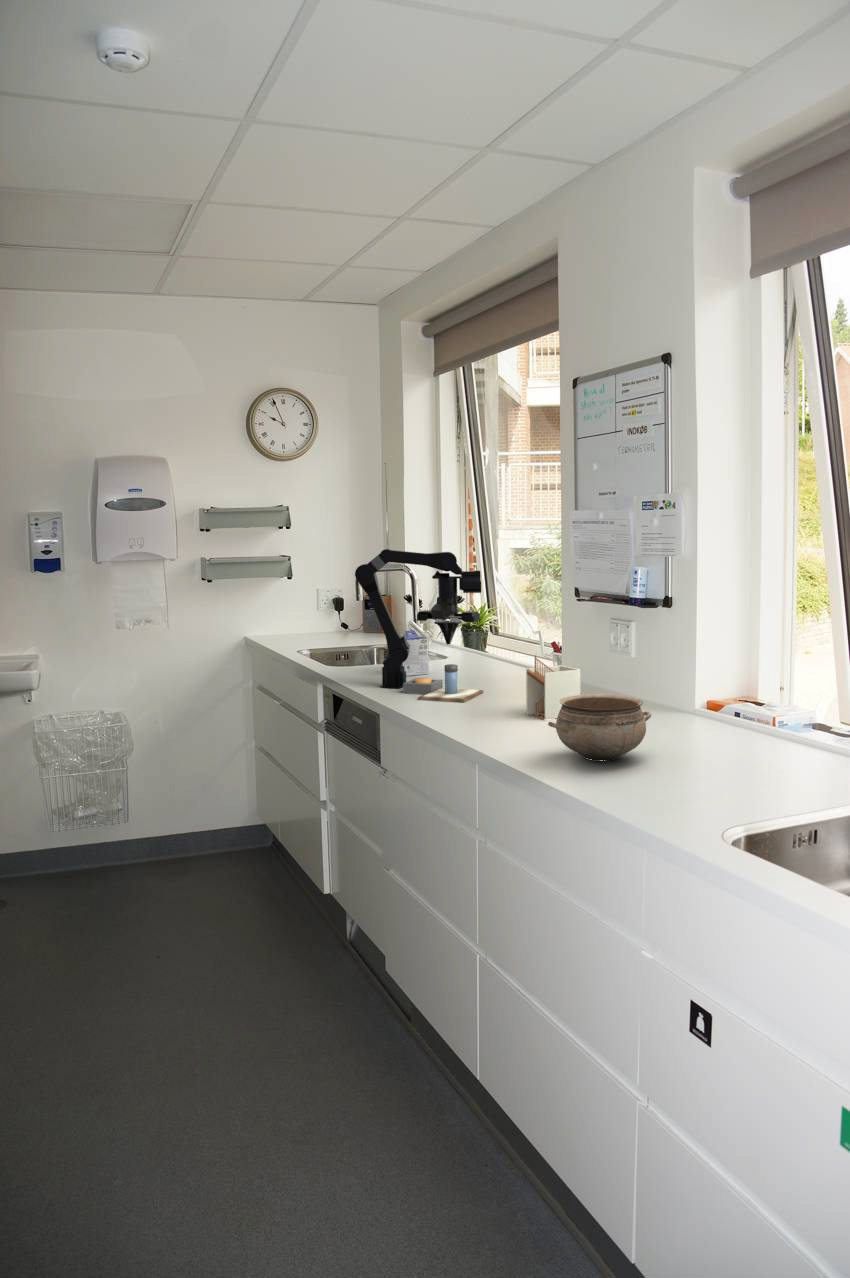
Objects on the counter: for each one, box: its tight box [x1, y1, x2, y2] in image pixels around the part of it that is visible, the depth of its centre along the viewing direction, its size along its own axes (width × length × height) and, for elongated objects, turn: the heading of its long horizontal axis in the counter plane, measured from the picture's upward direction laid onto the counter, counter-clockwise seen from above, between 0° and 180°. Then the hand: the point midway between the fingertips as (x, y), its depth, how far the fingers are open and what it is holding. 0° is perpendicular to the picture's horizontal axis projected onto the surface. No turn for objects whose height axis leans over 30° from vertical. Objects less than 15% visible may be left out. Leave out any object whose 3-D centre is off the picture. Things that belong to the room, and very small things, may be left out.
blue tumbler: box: [443, 663, 459, 694], centre depth 285 cm, size 4×4×8 cm
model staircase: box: [525, 654, 581, 721], centre depth 255 cm, size 9×11×17 cm
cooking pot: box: [547, 693, 652, 762], centre depth 210 cm, size 25×19×12 cm
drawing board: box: [417, 687, 484, 703], centre depth 285 cm, size 14×16×1 cm
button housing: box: [402, 678, 444, 695], centre depth 294 cm, size 9×9×3 cm
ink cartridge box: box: [401, 630, 430, 677], centre depth 326 cm, size 10×6×14 cm, turn 115°
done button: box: [414, 677, 432, 684], centre depth 294 cm, size 5×5×2 cm
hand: (448, 644), depth 301 cm, fingers closed
